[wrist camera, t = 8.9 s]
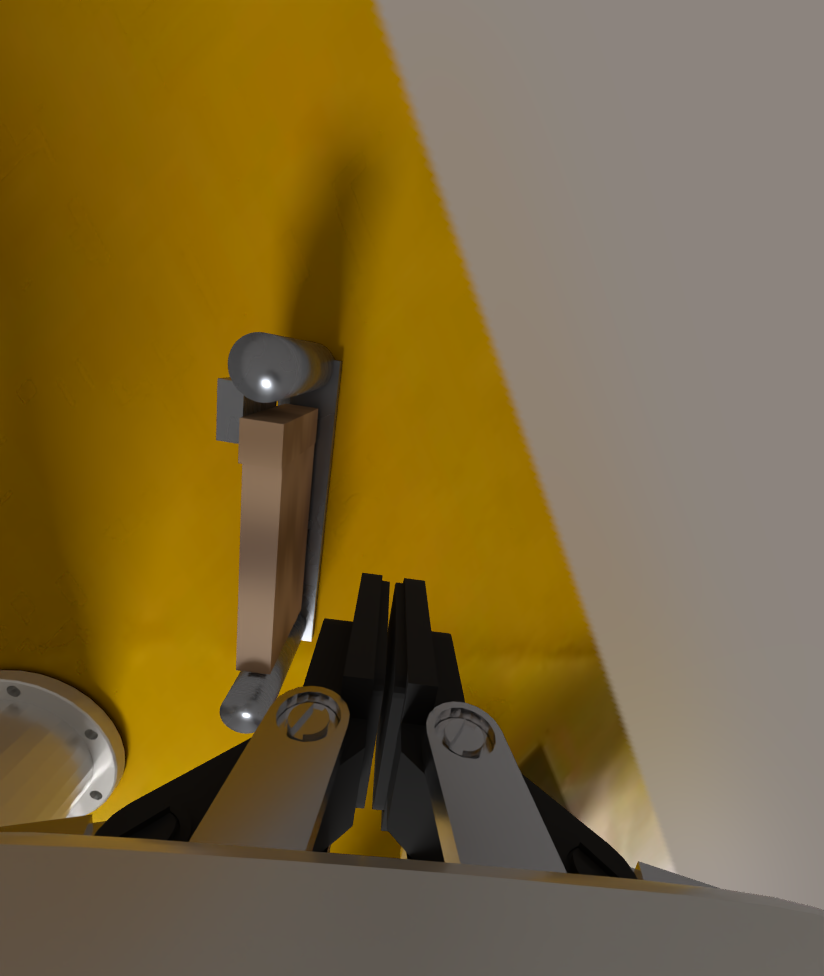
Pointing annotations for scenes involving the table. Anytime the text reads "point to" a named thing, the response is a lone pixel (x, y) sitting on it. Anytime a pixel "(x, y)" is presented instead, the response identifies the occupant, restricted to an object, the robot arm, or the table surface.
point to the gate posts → (312, 383)
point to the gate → (272, 529)
